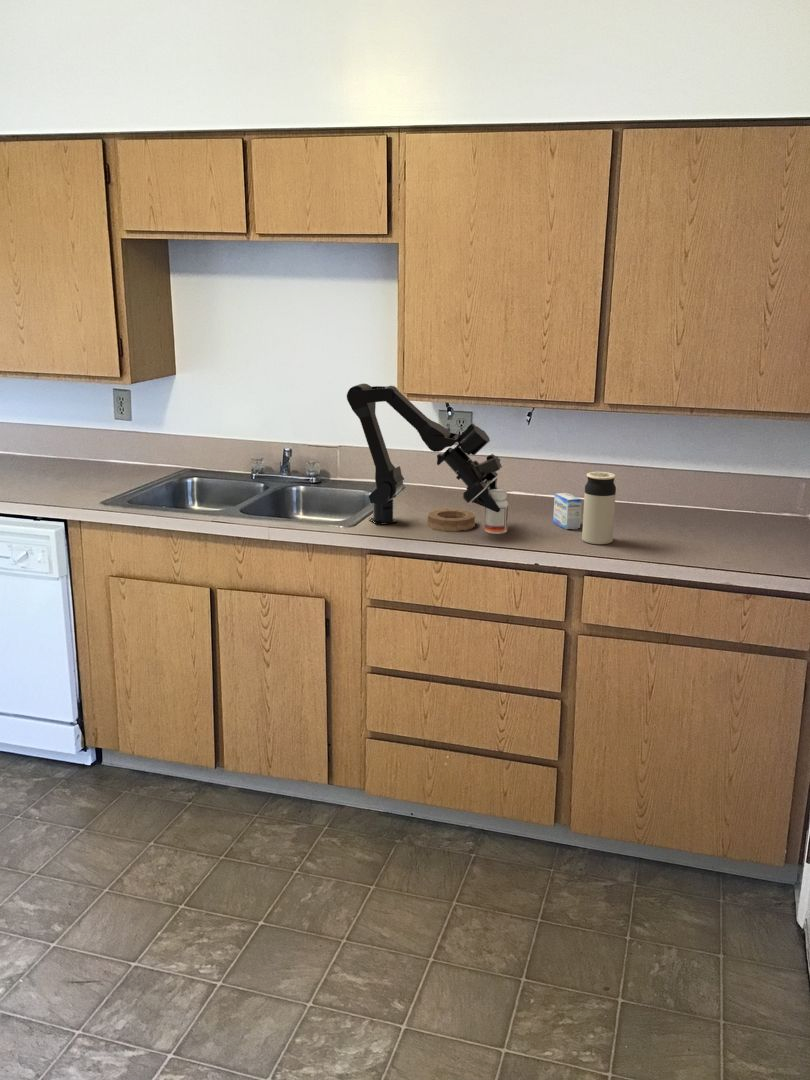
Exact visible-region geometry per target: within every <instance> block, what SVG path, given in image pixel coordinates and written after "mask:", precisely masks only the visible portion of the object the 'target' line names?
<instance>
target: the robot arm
mask: <svg viewBox="0 0 810 1080" xmlns="http://www.w3.org/2000/svg"><path fill="white" fill-rule="evenodd" d="M346 401H347V402H348V404H349V406H350V408H351V411H352V412H353V413H354V414H355V415H356V416H357V418H358V419H359V421H360V425H361V427H362V430H363V434H364V436H365V437H364V438H365V439H366V442H367V445H368V449H369V451H370V454H371V455H370V456H371V458H372V461H373V465H374V467H375V472H374V475H375V477H374V480H375V487H376V488H375V489H374V490H373V491H372V492H371V493H370V494H369V495H368V499H369V502H370V503H371V504H372V515H373V516H372V517H368V520H369V519H370V518H371V519H370V520H372V521H374V522H375V523H377V524H381V525H383V524H382V523H390V524H394V523H393V522H399V520H397V519H396V518H395V517H394V499H395V498H396V497H397V495H398V493H400V491H402V489H403V487H404V480H405V478H404V477H403V474H402V470H401V466H400V465H399V466H397V467H396V466H394V464H393V463H392V461H391V458H390V456H389V453H388V449H387V446H386V443H385V440H384V437H383V434H382V431H381V428H380V425H379V424H380V423H379V422H378V418H377V415H376V405H377V404H376V403H381V402H386V403H387V404H388V405H389V406H390V407H392V408H393V410H394V411H396V413H398V414H399V415H400V416H401V417H402V418H403V419H404V420H405V421H407V422H408V423H409V424H410V425H411V427H413V428H414V429H415V430H416V432H417V433H418V434H419V436H420V438H421V440H422V441H423V443H424V444H425V445H426V447H427V448H428V449H429V450H430V451H432V452H438V454H437V455H436V458H437V461H436V465H437V466H440V465H442V464H443V462H445V464H446V465H447V466H448V467H449V468H450V469H451V470H452V471H453V472H454V474H455V475H456V479H457V480H458V481H459V480H460V481H462V483H464V485H465V486H466V490H465V491H464V492H463V496H462V497H463V498H462V499H464V501H465V502H466V503H468V504H469V503H470V502H471V503H472V504H476V505H478V506H482V507H484V508H485V507H486V508H488V509H490V510H493V511H495V512H497V513H498V512H499V511H500V508H499V507H498V505H497V504H496V502H495V501H494V499H493V498H492V496H491V495H490V490H493V489H498V487H497V484H498V477H497V476H498V475H499V474H498V473H497V471H499V470H501V468H503V465H501V458H499V456H498V455H497V456H496V455H495V454H494V453H491V454H489V455H486V460H484V461H482V462H481V463H479V462H478V461H477V460H474V461H473V460H472V459H471V458H470V455H473V456H475V455H476V454H478V453H479V452H480V451H481V450H483V448H484V447H485V446H486V445H487V444H488V443H489V442H490V441H491V439H490V437H489V435H488V434H487V432H486V431H485V430H483V429H482V428H480V427H479V426H477V425H475V423H473V422H471V423H470V424H469V426H467V428H466V429H465V430H464V431H463V432H462V433H461V434H459V433H454V432H451V431H450V430H449V429H448V428H446V427H445V426H443V425H441V424H440V423H438V422H435V421H434V420H431V419H430V418H428V417H427V416H426V415H425V414H424V413H423V412H422V411H421V410H420V409H419V408H418V407H416V405H414V404H413V403H412V402H411V401H410V400H409V399H408V398H406V396H405V395H403V394H402V393H401V392H400V390H399V389H398V388H397V387H396V386H395V385H387V386H384V385H382V386H380V385H378V386H377V385H376V386H371V385H370V384H368V383H359V384H356V385H354V386H352V387H350V388H349V389H348V390H347V393H346ZM455 444H457V445H456V446H454V445H455ZM452 446H454V448H452ZM445 449H446V450H445ZM443 450H445V451H444V452H443V453H439V452H441V451H443ZM370 520H369V521H370ZM372 521H371V522H372ZM375 523H374V524H375ZM377 524H376V525H377Z"/></svg>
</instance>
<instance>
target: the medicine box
mask: <svg viewBox="0 0 810 1080" xmlns="http://www.w3.org/2000/svg"><path fill="white" fill-rule="evenodd" d="M553 501H554V503H553V514H552V515H553V516H552V518H553V519H552V523H553V524H554V523H555V524H554V525H556V524H557V525H556V526H557V527H560V526H561V527H560V528H562V529H564V530H566V529H573V530H579V529H578V528H580V529H581V518H582V503H583V501H582V499H581V498H580V497H577V496H575V495H572V494H571V493H568V492H561V493H555V494H554V500H553Z"/></svg>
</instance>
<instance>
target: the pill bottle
mask: <svg viewBox="0 0 810 1080" xmlns="http://www.w3.org/2000/svg"><path fill="white" fill-rule="evenodd" d="M507 492H508V491H506V490H504V489H498V488H497V489H493V490H490V495H491V496H492V498H493V499H494V501H495V502H496V504H497V505H498V507H499V508H500V511H499V512H498V513H497V512H495V511H493V510H490V509H488V508H486V507H484V508H485V509H484V531H485V532H486V533H488V534H491V535H503V534H506V533H507V531H508V519H509V517H508V516H509V503H508V500H506V499H507V495H508V494H507Z"/></svg>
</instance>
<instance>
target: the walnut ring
mask: <svg viewBox="0 0 810 1080" xmlns="http://www.w3.org/2000/svg"><path fill="white" fill-rule="evenodd" d="M475 523H476V513H474V512H472V511H471V510H467V509H460V508H441V509H434V510H432V511H429V512H428V514H427V526H428V527H429V528H431V529H432V528H433V529H432V530H438V531H442V532H460V530H464V531H469V530H471V529H473V527H474V528H475V527H476V526H475V525H476V524H475ZM470 528H471V529H470ZM468 529H469V530H468Z"/></svg>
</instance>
